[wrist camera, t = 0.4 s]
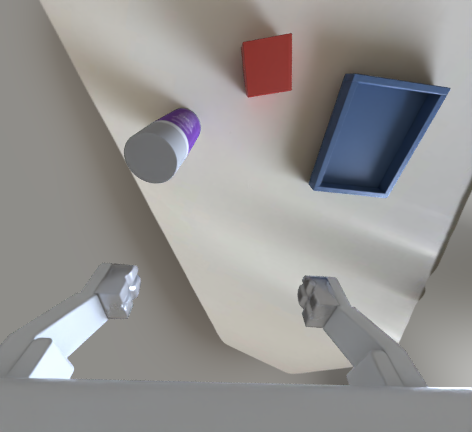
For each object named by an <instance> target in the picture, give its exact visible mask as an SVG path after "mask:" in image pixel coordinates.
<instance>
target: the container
mask: <svg viewBox="0 0 472 432" xmlns="http://www.w3.org/2000/svg"><path fill="white" fill-rule="evenodd" d="M200 130H201V125H200V121H199V119H198V117H197V116H196V114H195V113H194V112H192V111H191V110H189V109H185V108H179V109H176V110H174V111H173V112H171V113H169V114H167V115H165V116H163V117H162V118H160V119H158V120H156V121H154V122H153V123H151V124H149V125H148V126H147V127H145V128H144V129H142V130H141V131H139V132H138V133H136V134H135V135H133V136H132V137H130V138H129V139H128V141H127V142H126V145H125V148H124V157H125V161H126V163H127V165H128V167H129V169H130V170H131V171H132V172H133V173H134V174H135V175H136V176H137V177H138V178H140V179H142V180H144V181H146V182H149V183H163V182H166V181H168V180H169V179H171V178H172V177H173V176H174V174H175V173H176V171H177V170H178V168H179V167H180V165H181V164H182V163H183V161H184V160H185V158H186V157H187V155H188V153H189V152H190V150H191V148H192V146H193V145H194V143H195V141H196V140H197V138H198V136H199V134H200Z"/></svg>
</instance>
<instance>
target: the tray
mask: <svg viewBox="0 0 472 432" xmlns="http://www.w3.org/2000/svg"><path fill="white" fill-rule="evenodd" d="M450 89H451V88H447V87H441V86H434V85H428V84H421V83H415V82H408V81H401V80H395V79H388V78H382V77H375V76H369V75H362V74H345V76H344V79H343V82H342V85H341V88H340V91H339V94H338V97H337V100H336V103H335V106H334V109H333V112H332V115H331V118H330V121H329V124H328V127H327V130H326V133H325V136H324V139H323V142H322V145H321V148H320V151H319V154H318V157H317V160H316V163H315V166H314V169H313V172H312V175H311V178H310V181H309V185H310V186H311V188H312V189H313V190H314V191H324V192H333V193H343V194H352V195H362V196H371V197H381V198H387V197H388V195H389V194H390V192H391V190H392V189H393V187H394V185H395V184H396V182H397V180H398V178H399V177H400V175H401V173H402V172H403V170H404V168H405V166H406V165H407V163H408V161H409V160H410V158H411V156H412V154H413V153H414V151H415V149H416V148H417V146H418V144H419V142H420V141H421V139H422V137H423V136H424V134H425V132H426V130H427V129H428V127H429V125H430V124H431V122H432V120H433V118H434V117H435V115H436V113H437V112H438V110H439V108H440V106H441V105H442V103H443V101H444V100H445V98H446V96H447V94H448V92H449V91H450Z"/></svg>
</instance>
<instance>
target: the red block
mask: <svg viewBox="0 0 472 432" xmlns="http://www.w3.org/2000/svg"><path fill="white" fill-rule="evenodd" d="M241 53H242V62H243V72H244V82H245V92H246V95H247V97H254V96H260V95H266V94H273V93H279V92H285V91H291V90H292V33H290V34H284V35H279V36H273V37H268V38H263V39H257V40H252V41H246V42H243V43H242V47H241Z"/></svg>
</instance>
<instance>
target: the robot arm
mask: <svg viewBox="0 0 472 432" xmlns="http://www.w3.org/2000/svg"><path fill="white" fill-rule="evenodd" d="M137 273H138V267H137V266H136V265H125V264H112V263H102V264H100V265H99V266H98V268H97V269H96V271H95V272H94V274H93V275H92V276H91V278H90V279H89V281H88V282H87V284H86V285H85V287H84V288H83V290H82V291H81V293H76V294H74V295H72V296H71V297H69V298H67V299H66V300H64V301H63V302H61V303H59V304H58V305H56V306H55V307H53V308H52V309H50V310H48V311H47V312H45V313H43V314H42V315H40V316H39V317H37V318H35V319H34V320H32V321H31V322H29V323H28V324H26V325H25V326H23V327H21V328H20V329H18V330H17V331H15V332H13V333H11V334H10V335H9V336H8V337H7V338H6V339H5V340H4V341H3V343H2V344H1V345H0V432H472V388H442V387H440V388H439V387H428V386H427V384H426V382H425V381H424V379H423V378H422V376H421V374H420V373H419V371H418V369H417V368H416V366H415V365H414V363H413V361H412V360H411V358H410V357H409V355H408V353H407V352H406V350H405V349H404V348H402V347H401V346H400V345H399V344H398V343H396V342H395V341H394V340H393V339H392V338H391V337H389V336H388V335H387V334H386V333H385V332H383V331H382V330H381V329H380V328H379V327H377V326H376V325H375V324H374V323H373V322H372V321H370V320H369V319H368V318H367V317H366V316H364V315H363V314H362V313H361V312H360V311H359V310H357V309H356V308H355V307H351V305H350V303H349V301H348V299H347V297H346V295H345V293H344V291H343V289H342V288H341V286H340V284H339V282H338V280H337V279H336V278H335V277H324V276H306V275H305V276H304V277H303V279H302V282H303V284H302V285H300V286H299V289H298V301H299V305H300V306H301V307H302V308H303V309H304V310H303V312H302V315H303V319H304V322H305V326H306V327H317V328H323V330H324V331H325V332H326V333H327V335H328V336H329V337H330V338H331V339H332V341H333V342H334V343H335V344H336V346H337V347H338V348H339V349H340V350H341V352H342V353H343V354H344V355H345V356H346V358H347V359H348V360H349V361H350V363H351V364H352V365H353V366H354V368H353V369H352V370H351V371H350V372H349V373H348V374H347V376H346V377H347V380H348V383H349V385H315V384H314V385H311V384H273V383H271V384H270V383H230V382H188V381H145V380H102V379H70V377H71V375H72V373H73V371H74V367H73V365H72V364H71V363H70V361H69V360H68V359H67V357H68V356H69V355H70V354H71V353H73V352H74V351H75V350H76V349H77V348H78V347H79V346H80V345H81V344H82V343H83V342H84V341H85V340H87V339H88V338H89V337H90V336H91V335H92V334H93V333H94V332H95V331H96V330H97V329H98V328H100V327H101V325H103V324H104V323H105V322H106V321H107V320H108V319H127V318H128V317H129V314H130V312H131V310H132V307H133V302H132V300H133V299H135V298H136V297H137V296H138V293H139V290H140V285H141V279H140V276H138V275H137Z"/></svg>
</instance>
